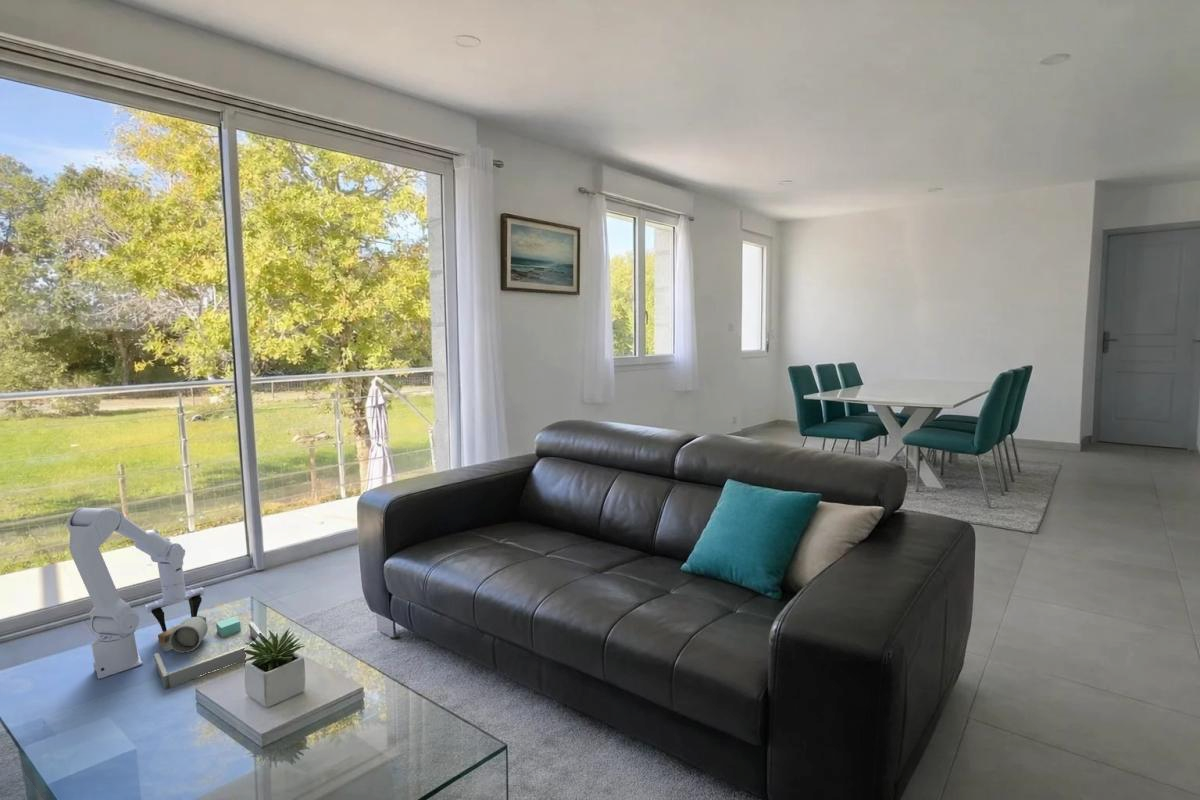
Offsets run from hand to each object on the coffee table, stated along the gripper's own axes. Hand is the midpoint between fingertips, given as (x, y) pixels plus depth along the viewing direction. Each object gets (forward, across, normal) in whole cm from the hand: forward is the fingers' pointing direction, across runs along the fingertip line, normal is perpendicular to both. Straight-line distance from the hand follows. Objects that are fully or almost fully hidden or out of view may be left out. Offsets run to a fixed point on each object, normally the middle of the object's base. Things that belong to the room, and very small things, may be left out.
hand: (179, 626), depth 190 cm
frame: (+2, +1, -25) cm, 25 cm away
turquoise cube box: (+2, +10, -12) cm, 15 cm away
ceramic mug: (+2, -2, -12) cm, 12 cm away
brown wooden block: (+2, 0, -5) cm, 5 cm away
